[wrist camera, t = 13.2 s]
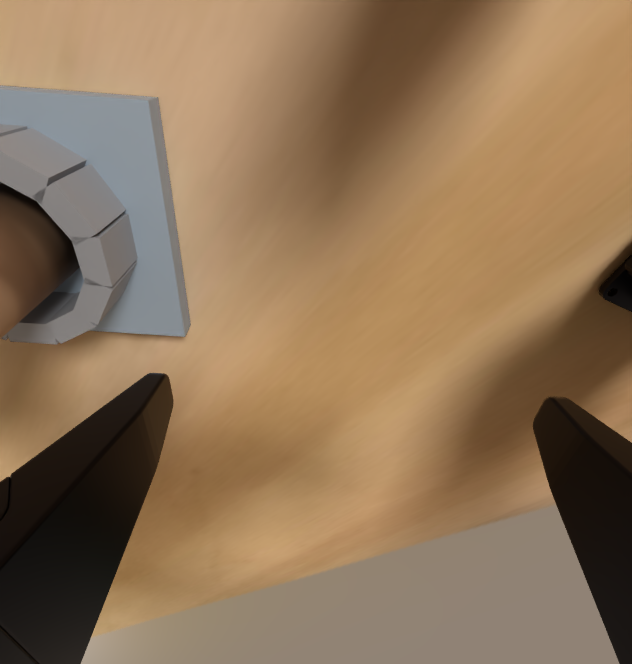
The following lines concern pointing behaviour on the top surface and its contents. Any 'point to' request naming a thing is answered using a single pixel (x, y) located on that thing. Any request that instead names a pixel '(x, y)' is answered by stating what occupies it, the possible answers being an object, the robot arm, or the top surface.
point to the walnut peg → (29, 256)
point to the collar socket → (98, 210)
